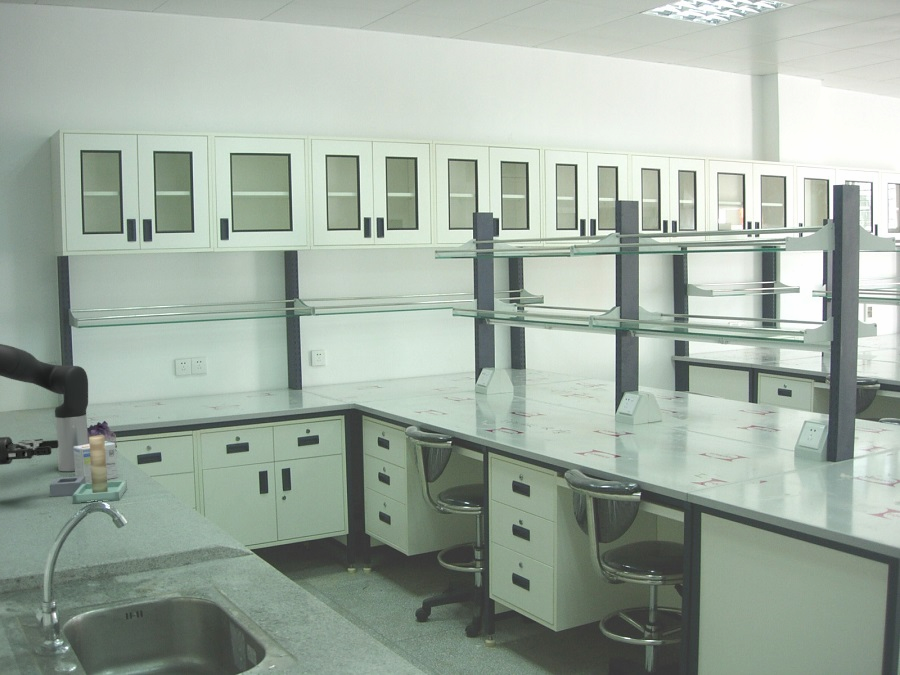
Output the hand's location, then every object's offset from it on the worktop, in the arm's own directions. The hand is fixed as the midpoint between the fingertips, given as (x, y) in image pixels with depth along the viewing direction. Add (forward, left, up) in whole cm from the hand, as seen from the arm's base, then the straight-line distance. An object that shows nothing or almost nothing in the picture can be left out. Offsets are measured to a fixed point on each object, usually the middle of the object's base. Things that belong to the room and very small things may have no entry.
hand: (54, 447), depth 251 cm
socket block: (-6, +1, -15) cm, 16 cm away
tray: (+1, +11, -15) cm, 18 cm away
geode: (-72, -2, -15) cm, 74 cm away
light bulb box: (-21, +6, -15) cm, 27 cm away
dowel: (+1, +11, -14) cm, 18 cm away
